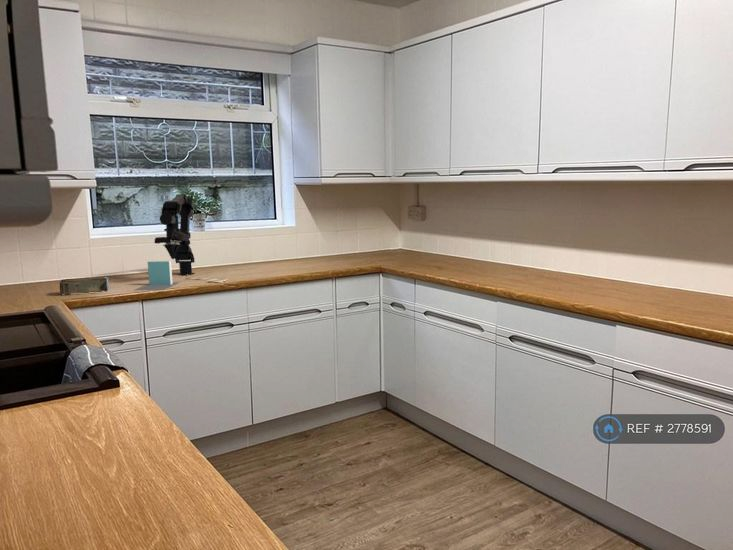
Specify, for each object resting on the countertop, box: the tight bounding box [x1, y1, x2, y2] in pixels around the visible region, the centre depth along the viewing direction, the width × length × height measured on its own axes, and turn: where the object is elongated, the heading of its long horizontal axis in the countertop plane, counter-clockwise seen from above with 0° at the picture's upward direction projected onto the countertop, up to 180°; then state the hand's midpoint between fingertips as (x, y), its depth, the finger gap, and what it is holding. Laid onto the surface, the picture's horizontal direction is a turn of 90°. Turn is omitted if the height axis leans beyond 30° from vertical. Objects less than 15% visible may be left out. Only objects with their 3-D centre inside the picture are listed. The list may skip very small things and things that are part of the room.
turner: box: [185, 277, 229, 284], centre depth 284 cm, size 22×7×1 cm, turn 69°
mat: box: [134, 281, 181, 291], centre depth 270 cm, size 20×14×1 cm
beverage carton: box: [59, 276, 110, 295], centre depth 259 cm, size 8×19×7 cm, turn 111°
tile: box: [147, 260, 173, 285], centre depth 273 cm, size 2×10×11 cm, turn 88°
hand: (173, 259), depth 284 cm, fingers closed
